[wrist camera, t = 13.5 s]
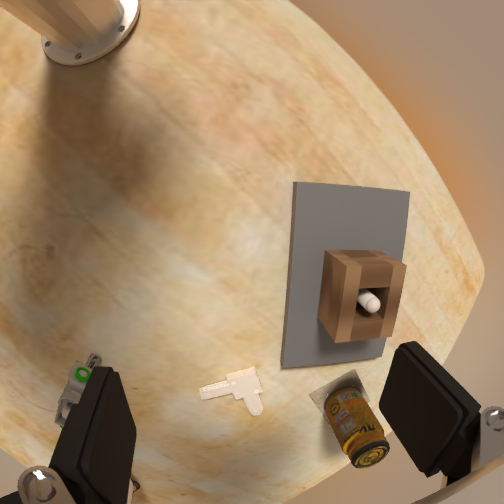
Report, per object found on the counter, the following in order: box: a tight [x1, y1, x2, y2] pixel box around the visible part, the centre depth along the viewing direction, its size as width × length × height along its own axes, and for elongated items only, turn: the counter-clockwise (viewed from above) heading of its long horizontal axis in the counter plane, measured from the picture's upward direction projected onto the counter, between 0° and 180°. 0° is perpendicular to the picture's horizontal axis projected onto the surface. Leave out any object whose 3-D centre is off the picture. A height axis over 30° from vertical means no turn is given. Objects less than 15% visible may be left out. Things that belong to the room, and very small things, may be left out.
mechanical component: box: [55, 354, 101, 429], centre depth 30 cm, size 3×10×10 cm, turn 148°
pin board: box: [280, 182, 410, 368], centre depth 32 cm, size 22×14×8 cm, turn 178°
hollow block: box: [317, 250, 407, 343], centre depth 32 cm, size 8×7×6 cm
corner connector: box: [199, 367, 263, 416], centre depth 38 cm, size 8×8×2 cm
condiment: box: [310, 370, 390, 468], centre depth 35 cm, size 7×8×12 cm
